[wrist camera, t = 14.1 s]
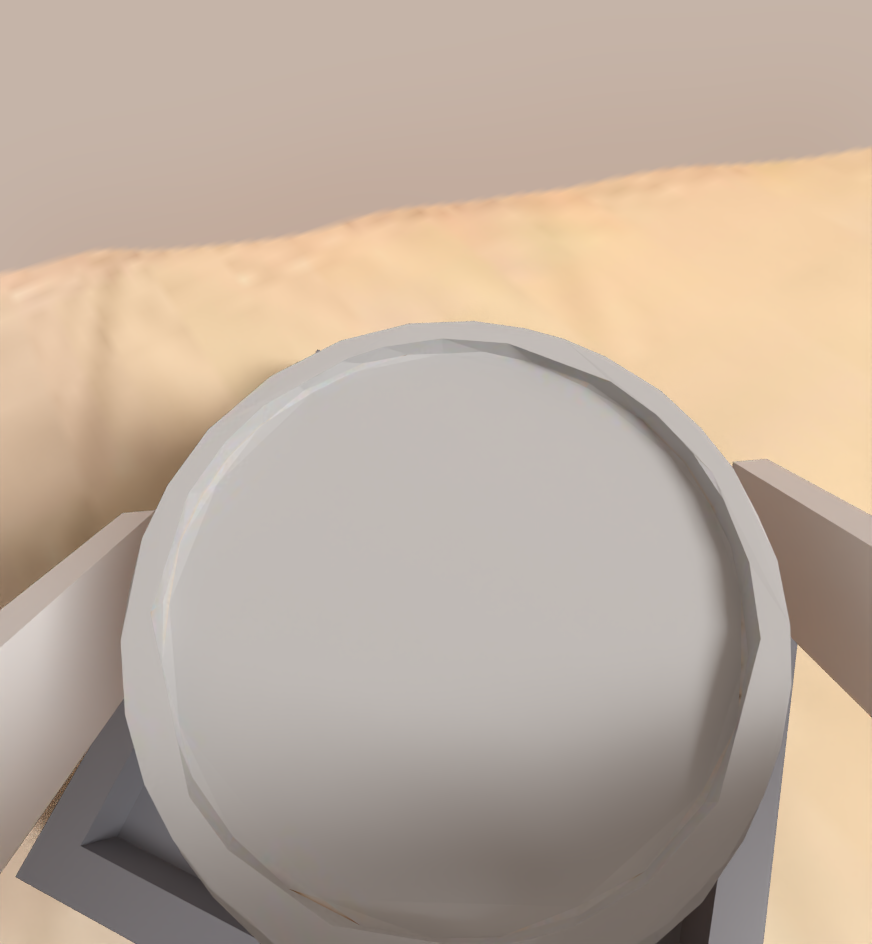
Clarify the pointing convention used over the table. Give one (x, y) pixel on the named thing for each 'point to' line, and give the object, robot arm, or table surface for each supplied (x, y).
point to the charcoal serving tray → (212, 927)
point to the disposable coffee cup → (456, 648)
